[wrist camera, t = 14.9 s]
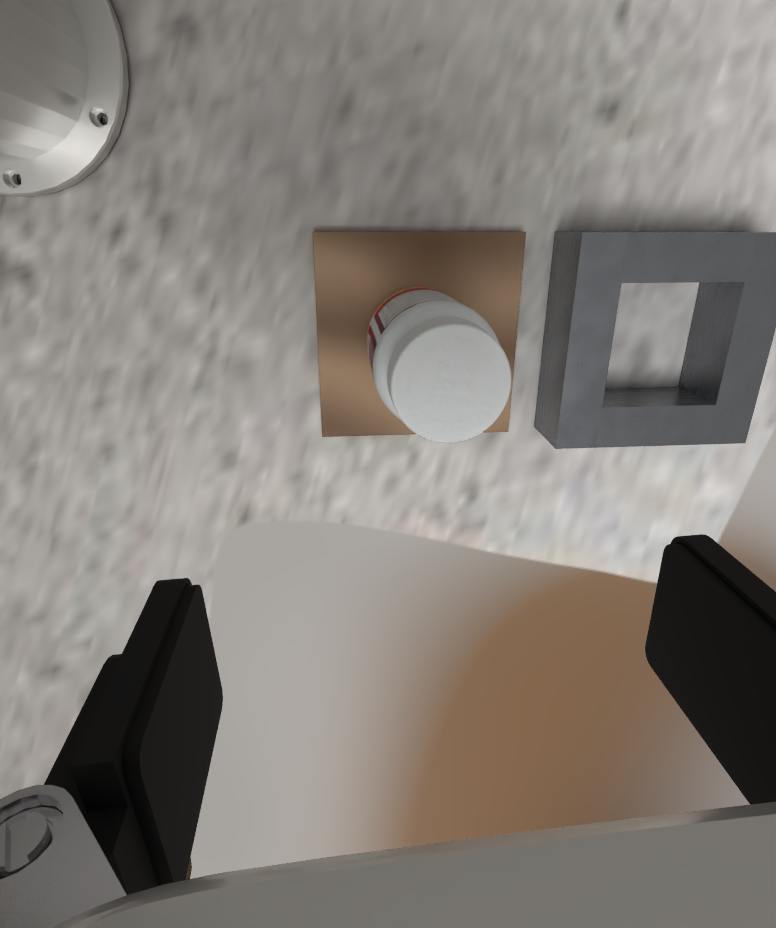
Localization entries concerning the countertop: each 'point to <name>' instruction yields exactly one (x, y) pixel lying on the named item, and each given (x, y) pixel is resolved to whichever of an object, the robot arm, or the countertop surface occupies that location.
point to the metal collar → (708, 350)
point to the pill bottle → (437, 365)
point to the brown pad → (383, 274)
